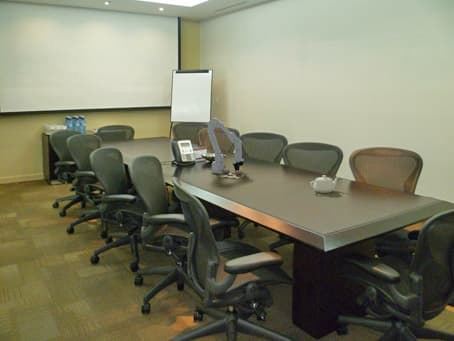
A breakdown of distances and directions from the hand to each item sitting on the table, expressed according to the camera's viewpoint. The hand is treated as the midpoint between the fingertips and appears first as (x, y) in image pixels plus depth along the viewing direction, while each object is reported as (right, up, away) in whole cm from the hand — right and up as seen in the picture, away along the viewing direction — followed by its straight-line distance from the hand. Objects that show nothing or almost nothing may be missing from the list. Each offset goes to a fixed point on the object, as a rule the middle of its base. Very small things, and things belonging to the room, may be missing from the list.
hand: (238, 171), depth 326 cm
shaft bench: (-5, -4, -13) cm, 14 cm away
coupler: (0, -1, 0) cm, 2 cm away
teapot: (+55, -13, -59) cm, 82 cm away
